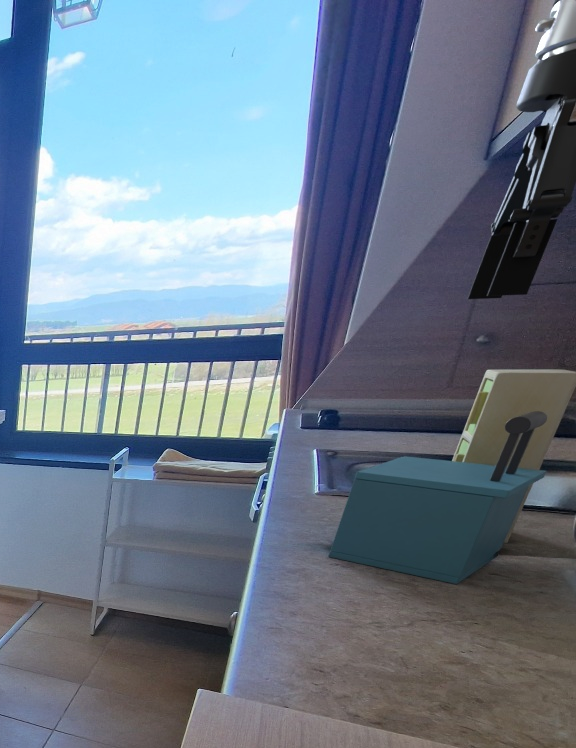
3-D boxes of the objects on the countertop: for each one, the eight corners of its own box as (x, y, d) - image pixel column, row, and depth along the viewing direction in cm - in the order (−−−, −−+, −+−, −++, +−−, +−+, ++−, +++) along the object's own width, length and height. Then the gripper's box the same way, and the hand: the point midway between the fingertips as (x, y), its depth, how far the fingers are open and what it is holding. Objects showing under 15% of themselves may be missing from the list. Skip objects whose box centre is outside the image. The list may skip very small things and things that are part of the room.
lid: (543, 477, 72) (575, 409, 69) (506, 498, 64) (539, 422, 61) (401, 462, 81) (423, 401, 79) (354, 478, 74) (377, 412, 71)
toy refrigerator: (418, 526, 88) (479, 368, 80) (493, 534, 84) (566, 368, 76) (423, 540, 83) (490, 372, 74) (504, 550, 78) (584, 372, 70)
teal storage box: (497, 556, 76) (533, 477, 72) (456, 584, 69) (494, 497, 65) (375, 534, 85) (401, 462, 82) (327, 556, 78) (354, 478, 74)
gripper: (507, 94, 71) (433, 301, 79) (564, 19, 53) (461, 295, 61) (610, 77, 66) (521, 298, 75) (710, -11, 49) (578, 291, 57)
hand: (494, 297), depth 68 cm, fingers open, 13 cm apart
